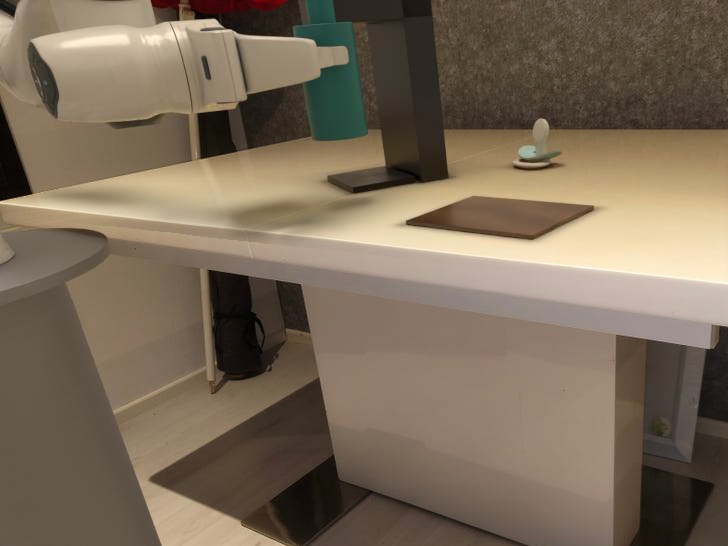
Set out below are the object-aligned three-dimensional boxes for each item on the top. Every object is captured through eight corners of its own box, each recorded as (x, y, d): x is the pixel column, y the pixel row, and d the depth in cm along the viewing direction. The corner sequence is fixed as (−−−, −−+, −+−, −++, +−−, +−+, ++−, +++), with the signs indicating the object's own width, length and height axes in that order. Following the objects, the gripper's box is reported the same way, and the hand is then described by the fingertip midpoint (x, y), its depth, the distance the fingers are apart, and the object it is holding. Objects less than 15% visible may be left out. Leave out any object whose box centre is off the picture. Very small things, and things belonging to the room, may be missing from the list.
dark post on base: (355, 194, 88) (319, -35, 77) (326, 180, 100) (290, -21, 89) (448, 177, 94) (427, -39, 82) (410, 165, 105) (386, -26, 94)
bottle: (339, 141, 76) (313, -20, 69) (300, 140, 80) (272, -14, 73) (379, 132, 81) (359, -20, 74) (341, 131, 85) (318, -14, 78)
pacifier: (533, 173, 93) (568, 164, 95) (530, 125, 90) (566, 117, 92) (504, 167, 98) (537, 159, 101) (500, 122, 96) (534, 115, 98)
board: (532, 239, 63) (532, 235, 63) (406, 224, 72) (405, 220, 72) (594, 209, 71) (594, 205, 71) (473, 199, 80) (473, 195, 80)
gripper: (202, 94, 81) (314, 82, 87) (233, 103, 65) (369, 87, 70) (188, 36, 78) (305, 27, 84) (217, 29, 62) (360, 19, 67)
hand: (335, 55), depth 77 cm, fingers closed on bottle, 6 cm apart
